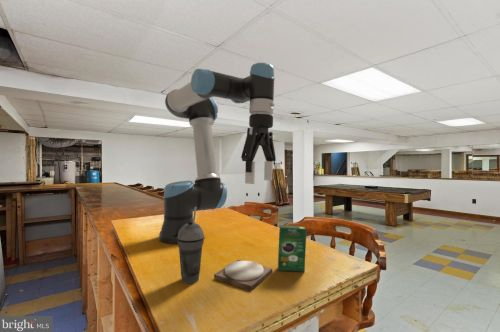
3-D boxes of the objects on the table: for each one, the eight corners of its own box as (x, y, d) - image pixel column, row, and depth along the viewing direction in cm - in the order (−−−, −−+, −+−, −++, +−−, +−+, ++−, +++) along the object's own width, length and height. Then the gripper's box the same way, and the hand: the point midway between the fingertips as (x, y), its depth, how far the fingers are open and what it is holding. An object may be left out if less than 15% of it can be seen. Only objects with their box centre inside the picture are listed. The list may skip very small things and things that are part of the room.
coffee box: (304, 268, 76) (305, 225, 76) (305, 272, 74) (306, 228, 73) (277, 267, 77) (278, 224, 77) (278, 271, 74) (279, 227, 74)
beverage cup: (179, 274, 71) (180, 204, 71) (205, 273, 72) (205, 204, 71) (173, 287, 64) (174, 209, 63) (202, 286, 64) (203, 209, 64)
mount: (214, 278, 69) (214, 271, 69) (238, 263, 79) (238, 257, 79) (251, 290, 63) (251, 283, 63) (272, 272, 73) (272, 265, 73)
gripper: (254, 106, 66) (252, 186, 67) (285, 120, 88) (284, 179, 89) (230, 108, 69) (228, 184, 70) (266, 121, 91) (264, 178, 92)
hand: (259, 181), depth 79 cm, fingers open, 13 cm apart
